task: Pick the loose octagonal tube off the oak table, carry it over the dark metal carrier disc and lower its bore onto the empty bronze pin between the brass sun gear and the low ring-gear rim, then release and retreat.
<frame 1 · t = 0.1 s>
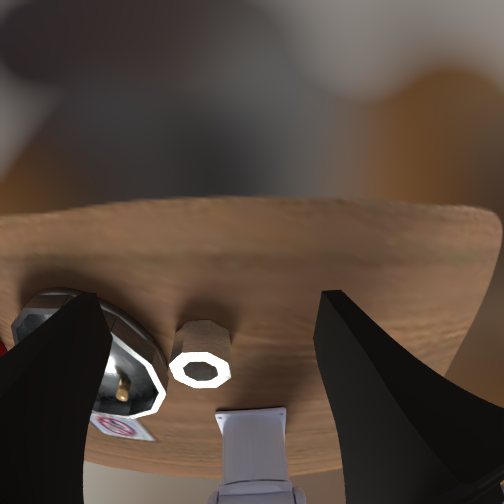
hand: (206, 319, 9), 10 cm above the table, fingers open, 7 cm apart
octagonal tube: (203, 339, 23), on the table
carrier: (90, 353, 24), on the table
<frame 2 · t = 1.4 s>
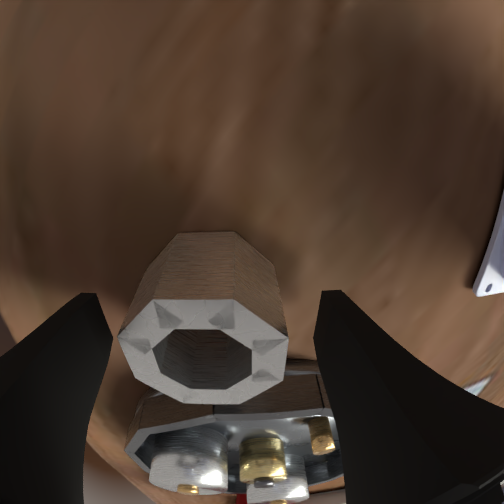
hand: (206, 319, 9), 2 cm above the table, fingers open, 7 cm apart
octagonal tube: (211, 288, 10), on the table
plastic cup: (264, 486, 25), on the table
carrier: (260, 432, 16), on the table
salad plate: (302, 500, 34), on the table
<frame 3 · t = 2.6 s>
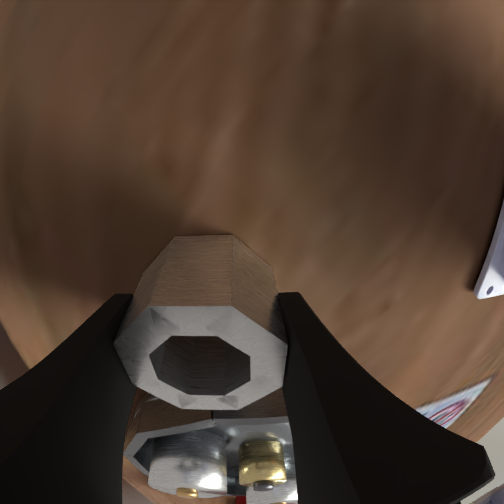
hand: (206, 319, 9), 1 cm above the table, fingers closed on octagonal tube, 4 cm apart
octagonal tube: (209, 292, 10), on the table, touching gripper
plastic cup: (264, 488, 25), on the table
carrier: (259, 435, 16), on the table
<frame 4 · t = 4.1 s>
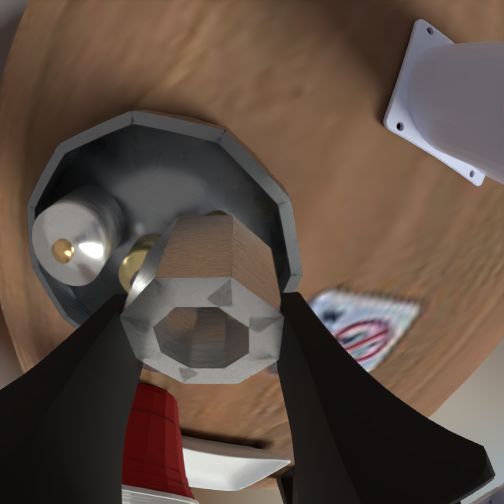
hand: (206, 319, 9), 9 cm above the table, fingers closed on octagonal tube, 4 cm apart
octagonal tube: (209, 271, 11), point 6 cm above the table, touching gripper
plastic cup: (152, 397, 26), on the table
phone stand: (300, 471, 41), on the table
carrier: (158, 247, 17), on the table
salad plate: (194, 453, 35), on the table
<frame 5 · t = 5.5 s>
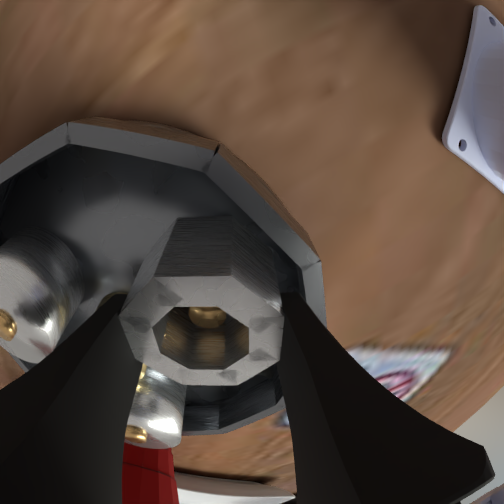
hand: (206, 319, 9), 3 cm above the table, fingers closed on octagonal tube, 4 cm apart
octagonal tube: (209, 272, 11), point 1 cm above the table, touching carrier, gripper
plastic cup: (144, 442, 21), on the table
phone stand: (304, 495, 36), on the table
carrier: (133, 303, 12), on the table
salad plate: (192, 484, 30), on the table
when the fingers open (3 cm above the table, at t = 6.2 s): octagonal tube stays where it is, resting on carrier.
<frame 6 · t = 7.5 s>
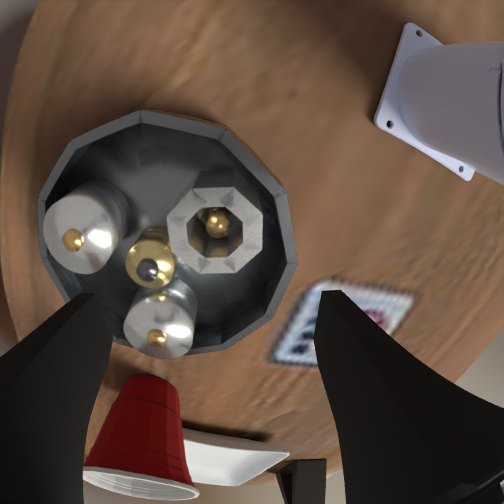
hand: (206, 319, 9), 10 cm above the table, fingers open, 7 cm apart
octagonal tube: (218, 207, 16), point 1 cm above the table, touching carrier
plastic cup: (154, 388, 27), on the table
phone stand: (300, 465, 42), on the table
carrier: (162, 238, 18), on the table
salad plate: (194, 447, 36), on the table
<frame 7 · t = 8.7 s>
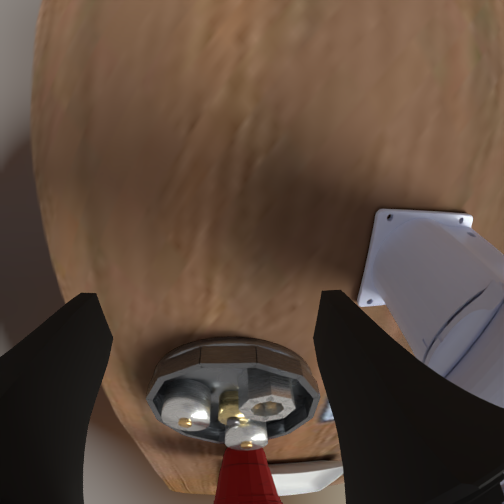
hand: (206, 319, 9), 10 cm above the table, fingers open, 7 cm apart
octagonal tube: (264, 378, 24), point 1 cm above the table, touching carrier
plastic cup: (245, 449, 36), on the table
carrier: (232, 390, 27), on the table
salad plate: (281, 472, 44), on the table
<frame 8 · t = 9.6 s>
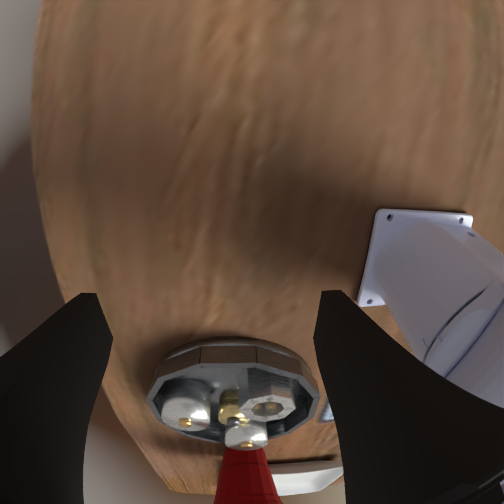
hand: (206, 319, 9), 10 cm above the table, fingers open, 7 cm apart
octagonal tube: (264, 378, 24), point 1 cm above the table, touching carrier
plastic cup: (245, 449, 36), on the table
carrier: (232, 390, 27), on the table
salad plate: (282, 472, 44), on the table
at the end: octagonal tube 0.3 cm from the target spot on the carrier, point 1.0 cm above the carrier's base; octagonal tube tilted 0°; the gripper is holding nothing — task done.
